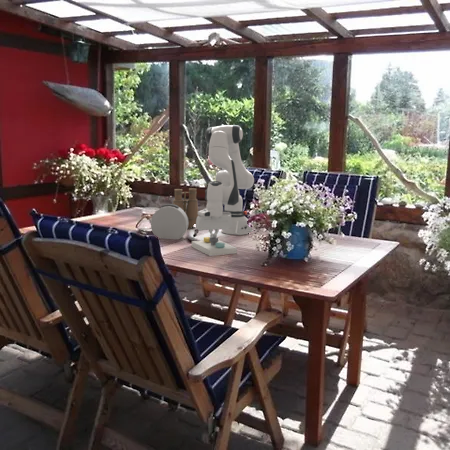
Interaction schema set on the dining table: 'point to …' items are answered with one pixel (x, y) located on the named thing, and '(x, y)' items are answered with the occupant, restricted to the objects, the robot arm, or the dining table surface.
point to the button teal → (220, 245)
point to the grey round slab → (169, 222)
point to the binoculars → (191, 204)
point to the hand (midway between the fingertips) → (213, 237)
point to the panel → (213, 248)
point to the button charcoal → (213, 240)
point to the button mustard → (206, 239)
